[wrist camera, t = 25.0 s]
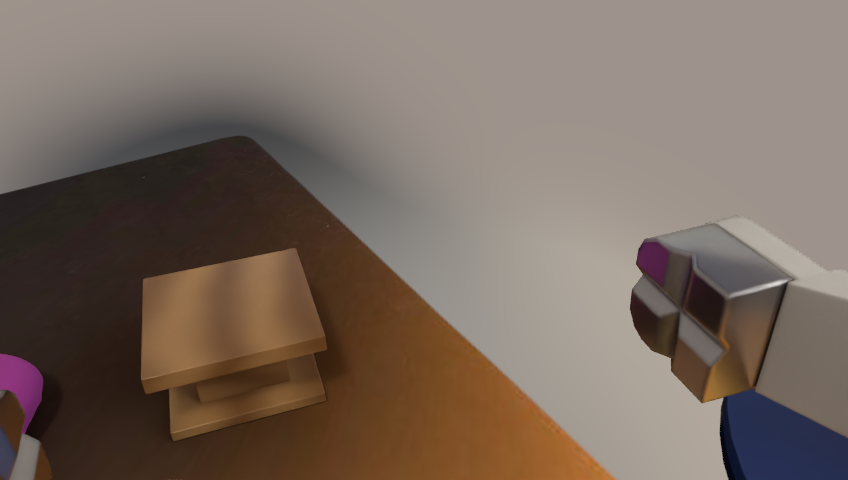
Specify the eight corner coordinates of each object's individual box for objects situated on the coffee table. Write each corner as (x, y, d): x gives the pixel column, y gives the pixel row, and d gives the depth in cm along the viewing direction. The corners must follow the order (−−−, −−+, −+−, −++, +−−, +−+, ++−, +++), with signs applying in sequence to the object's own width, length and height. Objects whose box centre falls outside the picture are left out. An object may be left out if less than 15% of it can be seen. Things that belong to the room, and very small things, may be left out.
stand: (305, 310, 54) (295, 247, 51) (335, 404, 46) (325, 335, 42) (162, 342, 52) (142, 278, 48) (164, 450, 43) (140, 380, 40)
